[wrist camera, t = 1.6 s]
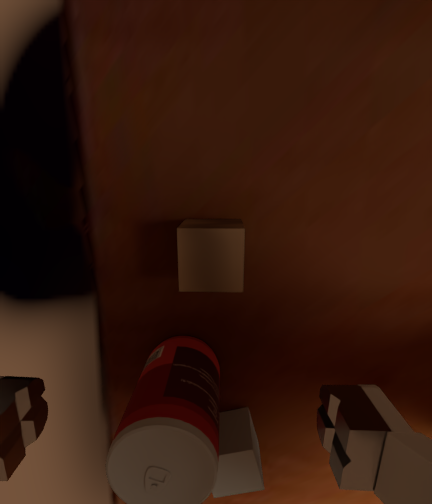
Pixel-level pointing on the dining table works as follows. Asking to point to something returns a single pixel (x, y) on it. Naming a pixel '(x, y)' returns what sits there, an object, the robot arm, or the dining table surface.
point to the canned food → (170, 428)
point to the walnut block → (211, 255)
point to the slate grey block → (238, 455)
